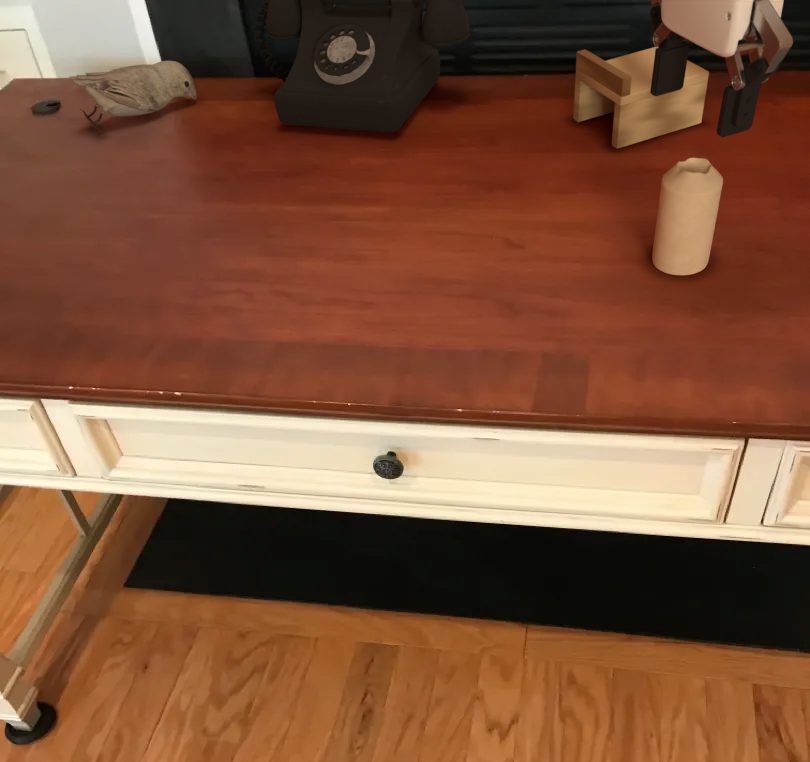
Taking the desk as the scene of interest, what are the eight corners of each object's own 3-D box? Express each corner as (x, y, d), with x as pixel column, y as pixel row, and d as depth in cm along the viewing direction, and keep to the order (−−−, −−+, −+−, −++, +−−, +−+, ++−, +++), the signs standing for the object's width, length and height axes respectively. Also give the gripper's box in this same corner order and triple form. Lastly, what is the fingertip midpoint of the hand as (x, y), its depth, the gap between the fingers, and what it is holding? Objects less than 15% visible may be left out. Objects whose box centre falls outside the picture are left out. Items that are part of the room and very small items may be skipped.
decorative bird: (204, 107, 126) (190, 50, 121) (94, 140, 122) (74, 83, 117) (192, 94, 130) (177, 39, 124) (84, 127, 125) (64, 71, 120)
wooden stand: (654, 95, 116) (661, 27, 110) (701, 123, 110) (712, 53, 104) (573, 118, 114) (576, 51, 108) (616, 149, 107) (622, 79, 101)
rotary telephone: (481, 85, 123) (478, -40, 112) (440, 143, 112) (432, 11, 101) (283, 74, 132) (262, -43, 121) (228, 126, 121) (199, 3, 110)
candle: (696, 281, 88) (714, 183, 80) (643, 268, 90) (654, 172, 82) (716, 253, 91) (734, 156, 83) (663, 242, 93) (676, 146, 85)
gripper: (863, -109, 62) (799, 138, 75) (708, -154, 73) (676, 69, 86) (773, -88, 60) (724, 161, 73) (629, -137, 71) (608, 87, 84)
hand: (698, 111), depth 79 cm, fingers open, 9 cm apart
